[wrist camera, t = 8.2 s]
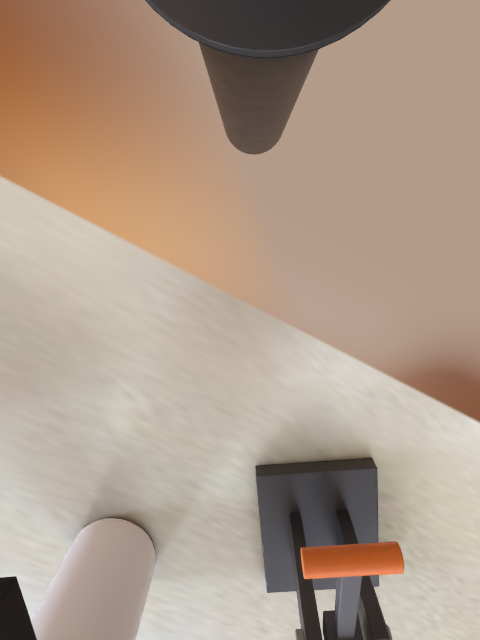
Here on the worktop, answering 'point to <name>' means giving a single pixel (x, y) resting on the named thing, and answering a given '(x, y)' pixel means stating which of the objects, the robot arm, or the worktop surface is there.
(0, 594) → the robot arm
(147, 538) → the milk bottle
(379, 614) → the switch base
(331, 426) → the worktop surface
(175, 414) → the worktop surface
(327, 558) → the switch lever
